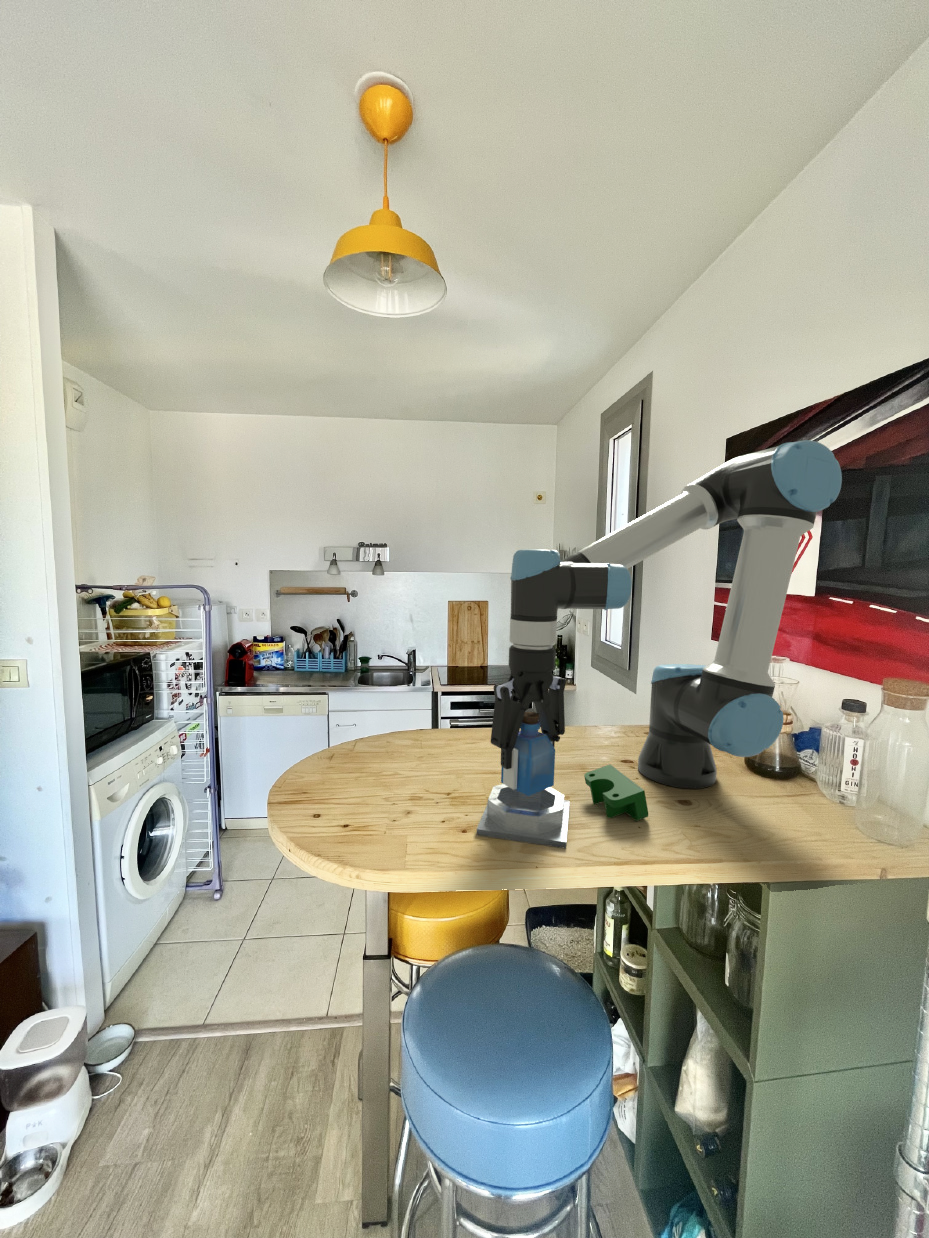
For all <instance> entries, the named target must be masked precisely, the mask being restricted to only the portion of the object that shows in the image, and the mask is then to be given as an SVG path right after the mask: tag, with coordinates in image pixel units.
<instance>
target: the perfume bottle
mask: <svg viewBox="0 0 929 1238" xmlns="http://www.w3.org/2000/svg"><path fill="white" fill-rule="evenodd" d="M539 716H540V715H539V714H538V713H537V712H535V711H525V714H524V717H523V720H522V724H521V727H520V730H519V733H518V737H517V740H516V743H515V747H514V748H515V749H517V750H518V771H517V789H515V790H517V791H519V792H521V793H523V794H525V795H528V796H530V795H532V794H535V793H537V792H539V791H542V790H544V789H547V788H549V787H551V788H552V787H553V786H554V785H555V784H554V783H555V768H556V767H555V765H556V764H555V763H556V761H555V760H556V749H555V747H553V745H552V743H551V742H550V740H549V738H548V737H547V735H546V734H543V733H542V732H540V731H539V730H541V727H540V721H539ZM500 772H501V774H500V775H501V778H500V783H501V784H503V767H502V766H501V771H500Z"/></svg>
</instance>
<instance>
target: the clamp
mask: <svg viewBox="0 0 929 1238" xmlns="http://www.w3.org/2000/svg"><path fill="white" fill-rule="evenodd" d="M583 777H584V782H585V784H586V785H587V786H588V787H589V788H590V793H591V795H590V796H591V799H592V803H593V804H594V805H597V804H600V803H604V808H605V814H606V818H608V819H611V818H614V817H617V816H619V815H621V814H624V813H626V814H627V815H628V816H630V817H631V818H632V820H634V821H635V822H638V821H640V820H644V819H647V818H648V817H649V809H648V802H647V796H646V792H645V791H646V790H645V789H644V788H642V787H641V786H639V785H638V784H637V783H636V782H634V781H633V780H631V778H629V777H628V776H626V775H625V774H624V773H622V772H621V771H620V770H619V769H617V768H615V767H614V766H613V765H612V764H608V765H604V766H601V767H599V768H596V769H593V770H590V771H587V772H585V773H584V775H583Z"/></svg>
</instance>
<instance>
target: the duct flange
mask: <svg viewBox="0 0 929 1238" xmlns="http://www.w3.org/2000/svg"><path fill="white" fill-rule="evenodd" d="M570 803H571V801H570V800H566V799H565V794H563V793H562V792H559V791H558V790H556V789H555V788H553V787H552V786H551V787H549V788H547V789H544V790H542V791H539V792H537V793H535V794H532V795H530V796H528V795H525V794H523V793H521V792H519V791H517V790H515V789H514V790H513V789H511V788H510V787H508V786H506V785H505V784H503V783H501V784H496V785H493V786H492V789H491V792H490V793H489V796H488V798H487V803H486V806H485V808H484V811H483V813H482V814H481V815H482V816H481V818H480V820H479V822H478V824H477V827H476V833H475V834H476V836H480V837H487V838H495V839H500V840H507V841H514V842H521V843H529V844H533V845H542V846H547V847H555V848H560V849H567V840H568V839H567V838H568V829H569V828H568V827H569V817H570V816H569V815H570V806H571V805H570Z"/></svg>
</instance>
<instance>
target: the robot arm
mask: <svg viewBox="0 0 929 1238" xmlns="http://www.w3.org/2000/svg"><path fill="white" fill-rule="evenodd" d="M842 475H843V474H842V469H841V465H840V463H839V460H837V459H836V457H835V454H834V452H833V451H832V450H831V449H830V448H828V447H827V446H826V444H822V442H818V441H815V440H809V439H805V440H799V441H793V442H792V441H789V442H785V443H782V444H780V445H777V446H773V447H770V448H767V449H763V450H758V451H755V452H751V453H745V454H742V455H739V456H736V457H734V458H732V459H730V460H727V461H726V462H725V463H723V464H721V465H720V466H718V467H716V468H714V469H713V470H711V471H709V472H707V473H706V474H704V475H703V476H701V477H699V478H698V479H696V480H694V481H692V482H691V483H689V484H687V485H686V486H684V487H683V488H682V490H681V493H680V495H677V496H675V497H674V498H672V499H671V500H669V501H667V502H665V503H664V504H662V505H660V506H658V507H656V508H654V509H652V510H651V511H649V512H647V513H645V514H643V515H642V516H640V517H638V518H636V519H635V520H634V519H633V520H632V521H631V522H629V523H627V524H625V525H624V526H622V527H620V528H618V529H616V530H614V531H613V532H610V533H608V534H607V535H605V536H603V537H601V538H599V539H598V540H596V541H594V542H592V543H591V544H588V545H587V546H585V547H584V548H582V549H580V550H578V551H576V552H575V553H573V554H571V555H569V556H567V557H565V558H563V559H562V560H561V555H560V552H559V551H558V550H556V549H518V550H517V551H515V553H514V554H513V556H512V557H513V558H512V563H511V574H510V616H509V617H510V618H509V642H510V643H511V644H512V645H510V647H508V667H509V671H510V675H509V677H508V681H507V682H505V683H503V684H498V683H495V684H494V686H493V693H494V698H495V699H494V706H493V707H494V708H493V718H492V724H491V734H490V744H491V745H493V746H495V747H497V748H499V749H500V766H501V768H502V767H503V783H502V784H505V785H506V786H508V787H510V788H511V789H513V790H514V789H517V771H518V750H517V749H515V748H514V747H515V743H516V740H517V737H518V733H519V731H521V728H520V727H521V724H522V720H523V717H524V714H525V712H527V710H528V709H529V708H530V704H532V703H534V707H535V711H536V713H538V714H539V715H540V716H539V720H538V721H540V730H541V733H543V734H546V735H547V737H548V738H549V740H550V742H551V743H552V745H553V747H554V748H555V746H556V745H555V744H556V743H559V741H560V740H561V736H563V735H564V734H565V732H566V726H565V725H566V723H565V722H566V721H565V693H564V692H565V689H566V688H565V687H566V683H567V680H566V678H562V677H560V676H556V675H553V671H554V670H555V668H556V648H555V645H557V631H558V629H557V627H558V625H557V624H558V623H557V622H558V610H569V609H572V610H575V609H576V610H604V611H608V610H613V609H614V610H617V609H622V608H624V607H625V606H626V605H627V603H629V600H630V598H631V595H632V588H633V587H632V586H633V582H632V577H631V574H630V573H631V572H630V571H629V570H628V569H629V568H631V567H633V566H635V565H637V564H639V563H640V562H642V561H644V560H646V559H648V558H649V557H651V556H653V555H655V554H656V553H659V552H660V551H662V550H664V549H665V548H667V547H669V546H670V545H673V544H674V543H677V542H678V541H680V540H682V539H684V538H685V537H687V536H689V535H690V534H693V533H694V532H696V531H698V530H700V529H701V530H710V529H712V528H714V527H716V526H718V525H719V524H722V523H725V522H728V521H732V520H736V521H737V522H738V524H739V525H740V527H741V528H742V529H743V535H742V538H741V539H742V540H741V544H740V547H739V552H738V556H737V561H736V565H735V570H734V574H733V578H732V583H731V588H730V591H729V595H728V598H727V599H728V601H727V604H726V608H725V612H724V617H723V621H722V626H721V628H720V629H721V631H720V635H719V638H718V644H717V647H716V651H715V656H714V660H713V661H712V662H711V663H709V664H708V665H707V664H706V665H705V664H689V663H687V664H684V663H669V664H666V663H665V664H659V665H657V666H655V667H654V669H653V673H652V678H651V682H650V684H651V691H650V692H651V694H650V707H649V709H650V711H649V725H648V726H649V728H648V735H647V737H646V739H645V741H644V743H643V746H642V747H641V750H640V752H639V755H638V757H637V758H638V759H637V760H638V761H637V769H638V772H640V773H641V774H642V776H644V777H645V778H647V779H649V780H651V781H654V782H657V783H659V784H662V785H665V786H669V787H674V788H680V789H681V788H682V789H693V790H694V789H704V788H709V787H711V786H713V785H715V783H716V782H717V774H718V771H717V766H716V762H715V759H714V754H713V751H712V747H713V748H715V749H717V750H718V751H720V752H725V753H727V754H729V755H732V756H734V757H738V758H739V757H740V758H749V757H753V756H757V755H759V754H761V753H763V751H765V750H768V749H770V747H771V746H772V745H774V743H775V742H776V741H777V739H778V737H779V736H780V734H781V732H782V729H783V726H784V712H783V711H782V710H781V708H782V707H781V705H780V704H779V702H778V701H777V700H776V699H775V698H774V697H773V696H774V692H775V687H776V683H775V682H774V680H773V679H772V677H771V676H770V673H769V669H770V665H771V661H772V657H773V656H772V655H773V652H774V648H775V643H776V639H777V635H778V631H779V628H780V623H781V618H782V616H783V615H782V614H783V610H784V607H785V603H786V598H787V595H788V589H789V586H790V581H791V578H792V572H793V569H794V564H795V561H796V557H797V552H798V547H799V544H800V539H801V537H802V536H803V535H805V534H806V533H808V532H809V531H811V530H812V529H814V526H815V522H816V518H817V514H818V512H821V511H822V510H825V509H827V508H829V507H830V505H831V504H832V503H834V502H835V501H836V500H837V498H838V497H839V494H840V491H841V488H842V481H843V476H842ZM560 735H561V736H560ZM555 742H556V743H555ZM711 746H712V747H711Z"/></svg>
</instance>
